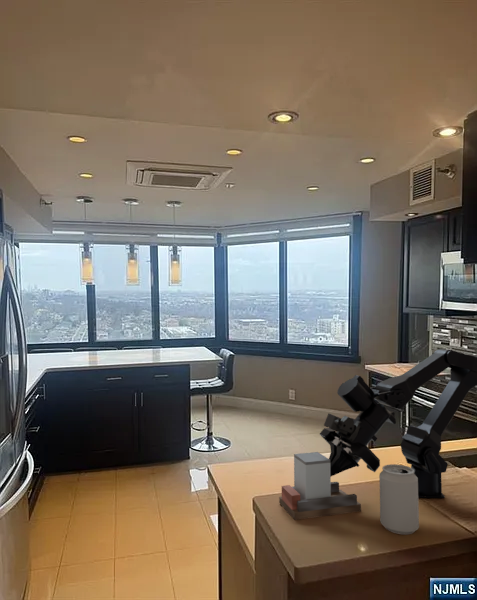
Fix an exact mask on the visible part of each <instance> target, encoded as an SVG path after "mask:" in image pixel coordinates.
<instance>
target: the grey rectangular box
mask: <svg viewBox="0 0 477 600" xmlns="http://www.w3.org/2000/svg"><path fill="white" fill-rule="evenodd" d="M293 476H294V477H293V481H294V482H293V483H294V484H293V485H294V489H295V490H296V491H297V492H298V493H299V494H300V500H308V499H316V498H324V497H331V482H332V481H331V477H332V476H331V475H330V459H329V457H326V456H325V455H323V454H322V453H320V452H318V451H313V452H301V453H293Z"/></svg>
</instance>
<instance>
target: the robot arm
mask: <svg viewBox="0 0 477 600" xmlns="http://www.w3.org/2000/svg"><path fill="white" fill-rule="evenodd" d="M448 368H449V370H450V371H449V372H450V373H449V374H450V379H449V381H448V383H447V385H446V386H445V388H444V389H443V391H442V392H441V394H440V396H438V399H437V401H436V402H435V403H434V405H433V407H432V408H431V409H430V411H429V413H428V414H427V416H426V417H425V419H424V420H423V422H422V424H420V425H418V426H414V425H410V426H408V429H407V431H406V432H405V434H404V435H403V436H401V439H402V440H401V443H400V450H401V453H402V455H403V457H404V459H405V461H406V463H407V464H409V465H410V468H412V469H413V470H414V474H415V475H416V476H417V478H418V498H423V499H424V498H426V499H429V498H430V499H434V498H435V499H446V498H445V494H443V491H442V485H443V484H442V473H447V468H448V466H449V464H448V462H447V461H446V460H445V459H444V458H443V456H441V455H440V452H441V450H442V436H443V434H444V432H445V430H446V429H447V427H448V425H449V424H450V422H451V421H452V420H453V417H454V416H455V415H456V413H457V411H458V410H459V407H461V405H462V403H463V401H464V400H465V398H466V397H467V395H468V393H469V392H470V390H472V389H474V388H475V387H476V386H477V354H468V353H462V352H459V351H456V350H453V349H449V348H438V349H436V350H434V352H433V353H432V354H431V355H428V357H427V358H425V359H423V360H422V361H421V362H418V363H417V364H416V365H415V366H413V367H412V368H410V369H409V370H407V371H406V372H404V373H403V374H400V375H398V376H393V377H389V378H387V379H384V380H382V381H380V382H378V383H377V385H376V386H372V387H370V386H369V385H368V384H367V383H366V381H365V380H364V378H363V377H362V376H361V375H357V374H355V375H354V376H353V377H352V378H349V379H347V380H346V381H345V382H342V383H341V384H340V385H339V387H338V389H337V395H338V396H339V397H340V398H341V400H342V401H344V402H345V404H346V405H347V406H348V407H349V408H350V409H351V410H352V411H353V412H355V413H357V412H359V413H358V415H357V416H355V418H352V417H349V416H347V415H344V416H342V418H341V417H339V416H337V415H334V414H331V413H330V412H329V413H327V417H326V418H325V421H324V423H323V426H324V427H325V428H323V429H322V430H320V433H319V436H321V438H323V439H324V441H326V443H327V444H328V445H329V447H330V448H329V449H330V453H329V457H328V459H330V475H331V477H334V476H335V475H337V474H340V473H343V472H344V471H348V470H349V469H353V468H355V467H358V468H359V467H360V464H359V462H360V461H361V460H362V461H363V462H364V463H365V465H366V468H367V469H368V470H369V471H372V472H373V473H376V472H377V470H378V469H379V468H380V467H381V459H380V458H379V457H378V456H377V455H376V453H374V452H373V451H372V450H371V448H369V447H368V445H369V444H370V442H371V441H373V442H374V443H375V442H376V441H377V440H378V437H377V436H376V435H377V434H378V432H379V431H380V430H381V429H382V427H383V426H384V425H385V423H386V422H387V423H390V424H393V425H396V423H397V420H396V415H395V414H396V413H395V412H394V411H393V410H392V411H391V410H388V408H387V407H390V408H393V409H397V410H398V409H402V408H404V407H406V405H407V404H409V402H410V401H411V400H413V398H414V395H415V393H416V391H417V390H419V388H422V387H423V386H424V385H425V384H427V383H428V382H429V381H431V380H432V379H434V378H435V377H436V376H438V375H440V373H442V372H444V371H445V370H446V369H448ZM385 406H387V407H385Z"/></svg>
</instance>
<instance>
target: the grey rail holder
mask: <svg viewBox="0 0 477 600" xmlns="http://www.w3.org/2000/svg"><path fill="white" fill-rule="evenodd" d="M278 503H280V504H281V505H282V506H283V507H284V508H283V507H282V506H281V505H280V504H279V505H280V506H281V507H282V508H283V509H284V510H285V511H286V513H288V514H289V515H290V516H291V518H292V517H293V518H294V519H293V518H292V519H293V520H294V521H297V520H298V521H299V520H305V519H312V518H320V517H328V516H335V515H341V514H349V513H355V512H356V513H357V512H361V511H362V503H360V502H359V501H358V495H357V494H355V493H351V494H348V493H346V492H345V491H344V490H342V489H340V483H339V481H331V497H324V498H316V499H308V500H300V494H299V493H298V492H297V491H296V490H295V489H294V486H291V485H290V484H287V485H281V496H279V497H278Z"/></svg>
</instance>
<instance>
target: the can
mask: <svg viewBox="0 0 477 600" xmlns="http://www.w3.org/2000/svg"><path fill="white" fill-rule="evenodd" d="M419 513H420V512H419V497H418V478H417V476H416V475H415V474H414V470H413V469H412V468H411V466H407V465H404V464H403V465H402V464H398V463H397V464H394V463H393V464H392V463H391V464H385V465H383V466H382V470H381V472H379V515H380V516H379V517H380V518H379V519H380V520H379V521H380V524H381V525H382V526H383V527H384V528H385V529H386V530H387V531H389V532H391V533H394V534H399V535H412V534H414V533H415V532H416V531H417V530H419V528H420V518H419V517H420V515H419Z"/></svg>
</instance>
